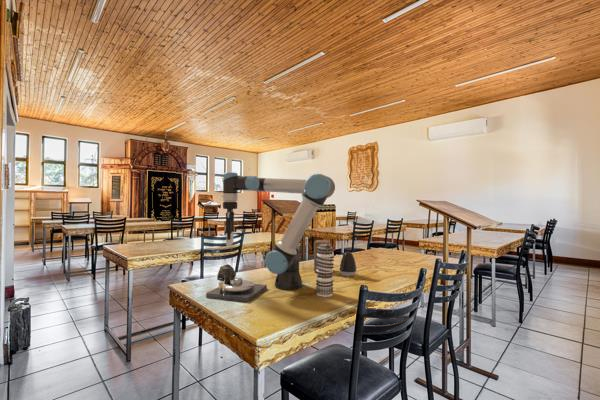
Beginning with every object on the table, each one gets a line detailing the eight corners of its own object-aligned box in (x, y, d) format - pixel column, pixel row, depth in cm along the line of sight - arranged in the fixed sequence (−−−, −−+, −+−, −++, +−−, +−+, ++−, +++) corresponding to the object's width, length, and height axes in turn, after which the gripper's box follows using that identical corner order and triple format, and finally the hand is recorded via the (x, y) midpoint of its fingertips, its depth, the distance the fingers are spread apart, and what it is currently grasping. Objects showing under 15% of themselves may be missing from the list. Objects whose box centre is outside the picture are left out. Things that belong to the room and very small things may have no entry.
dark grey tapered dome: (344, 273, 192) (344, 249, 192) (359, 275, 186) (359, 251, 186) (336, 276, 184) (336, 251, 184) (351, 278, 177) (352, 253, 177)
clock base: (266, 288, 156) (266, 275, 156) (247, 302, 135) (247, 287, 135) (229, 284, 163) (230, 272, 163) (206, 297, 142) (206, 282, 142)
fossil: (231, 280, 170) (223, 264, 170) (218, 287, 171) (210, 271, 172) (239, 275, 180) (231, 260, 181) (226, 281, 182) (219, 266, 183)
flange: (259, 284, 154) (259, 266, 154) (244, 293, 139) (244, 274, 139) (227, 281, 160) (228, 264, 160) (210, 289, 145) (210, 271, 145)
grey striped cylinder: (313, 272, 193) (314, 241, 193) (315, 269, 202) (315, 239, 202) (329, 273, 191) (329, 242, 191) (330, 269, 201) (330, 240, 201)
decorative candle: (329, 298, 142) (329, 246, 142) (312, 295, 146) (312, 244, 146) (336, 293, 150) (337, 243, 150) (320, 290, 154) (320, 242, 154)
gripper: (225, 201, 167) (225, 242, 167) (219, 201, 149) (219, 247, 149) (239, 201, 168) (238, 242, 168) (235, 201, 149) (234, 247, 149)
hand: (229, 244), depth 158 cm, fingers open, 6 cm apart
